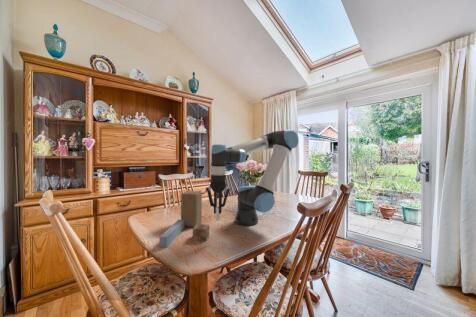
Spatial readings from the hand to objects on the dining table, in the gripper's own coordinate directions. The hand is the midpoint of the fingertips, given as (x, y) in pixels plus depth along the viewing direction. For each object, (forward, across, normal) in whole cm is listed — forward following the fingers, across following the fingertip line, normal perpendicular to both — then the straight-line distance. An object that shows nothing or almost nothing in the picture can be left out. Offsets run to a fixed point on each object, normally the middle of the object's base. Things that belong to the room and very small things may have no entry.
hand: (217, 219), depth 104 cm
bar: (+10, +24, 0) cm, 26 cm away
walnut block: (+10, +8, 0) cm, 13 cm away
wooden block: (+10, +20, -19) cm, 29 cm away
